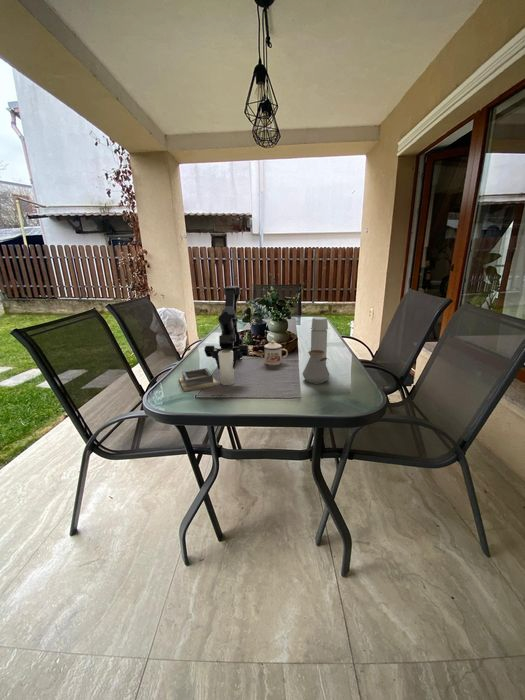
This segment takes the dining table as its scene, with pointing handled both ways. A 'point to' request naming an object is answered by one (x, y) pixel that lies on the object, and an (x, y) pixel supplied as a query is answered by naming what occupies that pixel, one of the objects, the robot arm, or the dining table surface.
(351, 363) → the dining table surface
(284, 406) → the dining table surface
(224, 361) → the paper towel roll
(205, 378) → the roll holder
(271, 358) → the teacup with lid
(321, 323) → the water bottle
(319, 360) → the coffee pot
